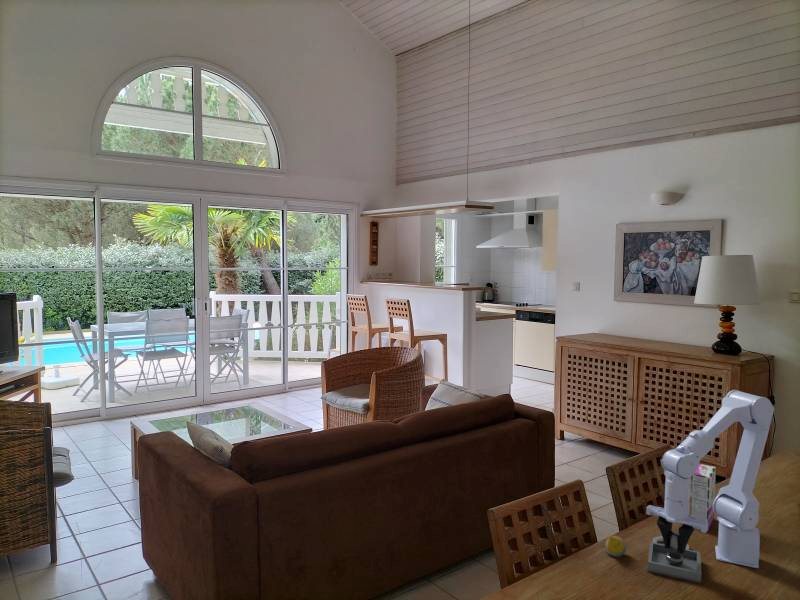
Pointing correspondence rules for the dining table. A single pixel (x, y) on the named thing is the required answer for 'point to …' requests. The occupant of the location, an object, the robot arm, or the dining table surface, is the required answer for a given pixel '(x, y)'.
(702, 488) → the candy bar box
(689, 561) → the tray
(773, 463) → the dining table surface
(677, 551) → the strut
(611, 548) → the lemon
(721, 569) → the dining table surface
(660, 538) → the seat ring
